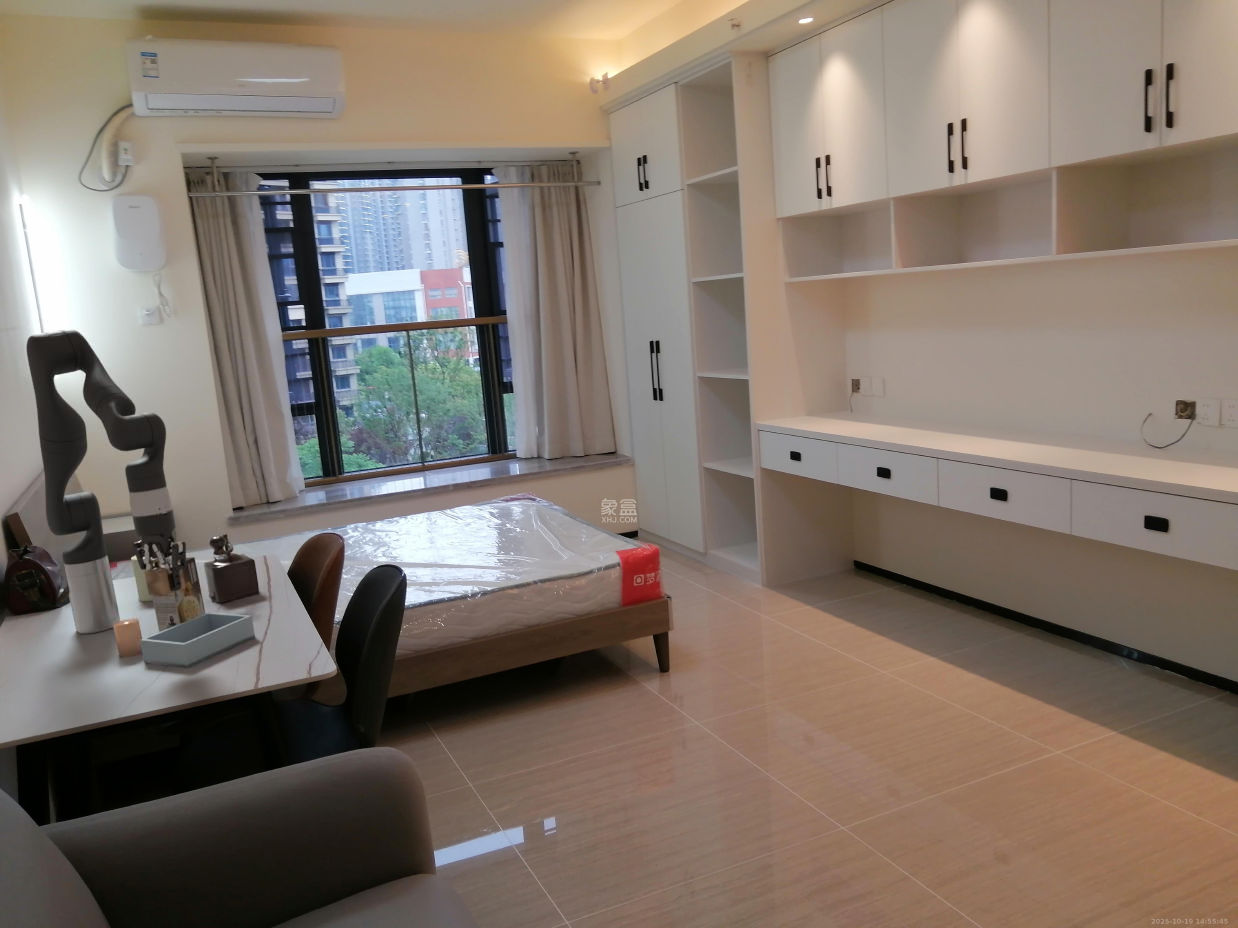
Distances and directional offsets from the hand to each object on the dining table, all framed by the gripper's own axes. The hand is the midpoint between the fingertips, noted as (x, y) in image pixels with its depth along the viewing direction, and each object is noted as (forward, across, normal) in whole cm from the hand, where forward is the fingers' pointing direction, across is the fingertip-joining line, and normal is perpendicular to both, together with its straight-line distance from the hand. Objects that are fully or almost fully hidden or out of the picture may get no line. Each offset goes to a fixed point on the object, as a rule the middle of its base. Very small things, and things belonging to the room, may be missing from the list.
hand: (167, 589), depth 195 cm
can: (+15, -52, +34) cm, 64 cm away
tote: (+15, 0, +5) cm, 16 cm away
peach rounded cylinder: (+15, -16, 0) cm, 22 cm away
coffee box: (+16, -18, +15) cm, 28 cm away
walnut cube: (0, 0, 0) cm, 0 cm away
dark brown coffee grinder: (+16, -25, +37) cm, 47 cm away
